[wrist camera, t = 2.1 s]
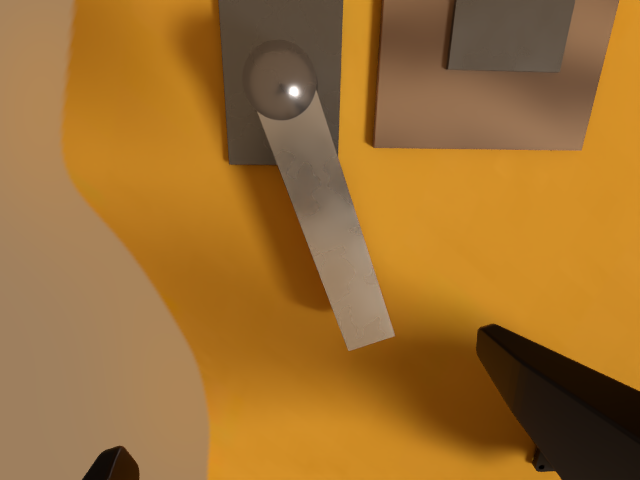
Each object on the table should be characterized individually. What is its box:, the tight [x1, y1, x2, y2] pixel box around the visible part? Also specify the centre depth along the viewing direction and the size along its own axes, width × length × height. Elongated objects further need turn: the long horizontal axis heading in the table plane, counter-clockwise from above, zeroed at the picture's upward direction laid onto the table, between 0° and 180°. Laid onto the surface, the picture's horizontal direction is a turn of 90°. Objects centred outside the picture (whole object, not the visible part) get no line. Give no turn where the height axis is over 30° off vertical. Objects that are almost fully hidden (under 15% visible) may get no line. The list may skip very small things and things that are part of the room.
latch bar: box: [242, 40, 395, 351], centre depth 19 cm, size 16×3×2 cm, turn 19°
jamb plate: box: [219, 0, 343, 165], centre depth 19 cm, size 8×6×1 cm
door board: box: [373, 0, 619, 150], centre depth 19 cm, size 9×12×1 cm
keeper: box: [446, 0, 575, 73], centre depth 18 cm, size 5×6×1 cm
